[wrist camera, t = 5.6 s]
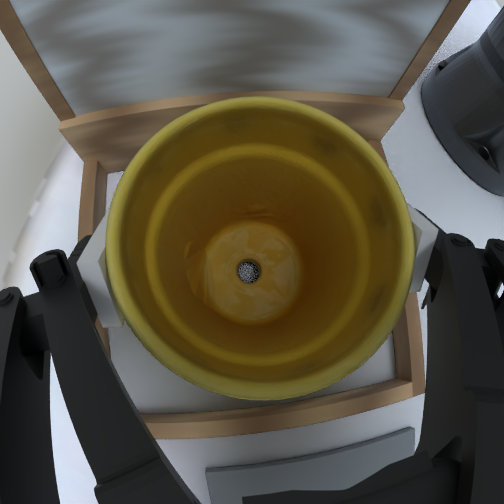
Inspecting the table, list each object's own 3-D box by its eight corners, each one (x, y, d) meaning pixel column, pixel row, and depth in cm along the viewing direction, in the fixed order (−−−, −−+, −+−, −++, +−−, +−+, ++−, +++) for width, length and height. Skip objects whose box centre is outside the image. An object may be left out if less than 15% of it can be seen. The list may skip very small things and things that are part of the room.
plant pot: (134, 311, 18) (48, 296, 8) (213, 169, 20) (204, 60, 11) (288, 389, 17) (344, 448, 8) (355, 239, 20) (442, 175, 10)
